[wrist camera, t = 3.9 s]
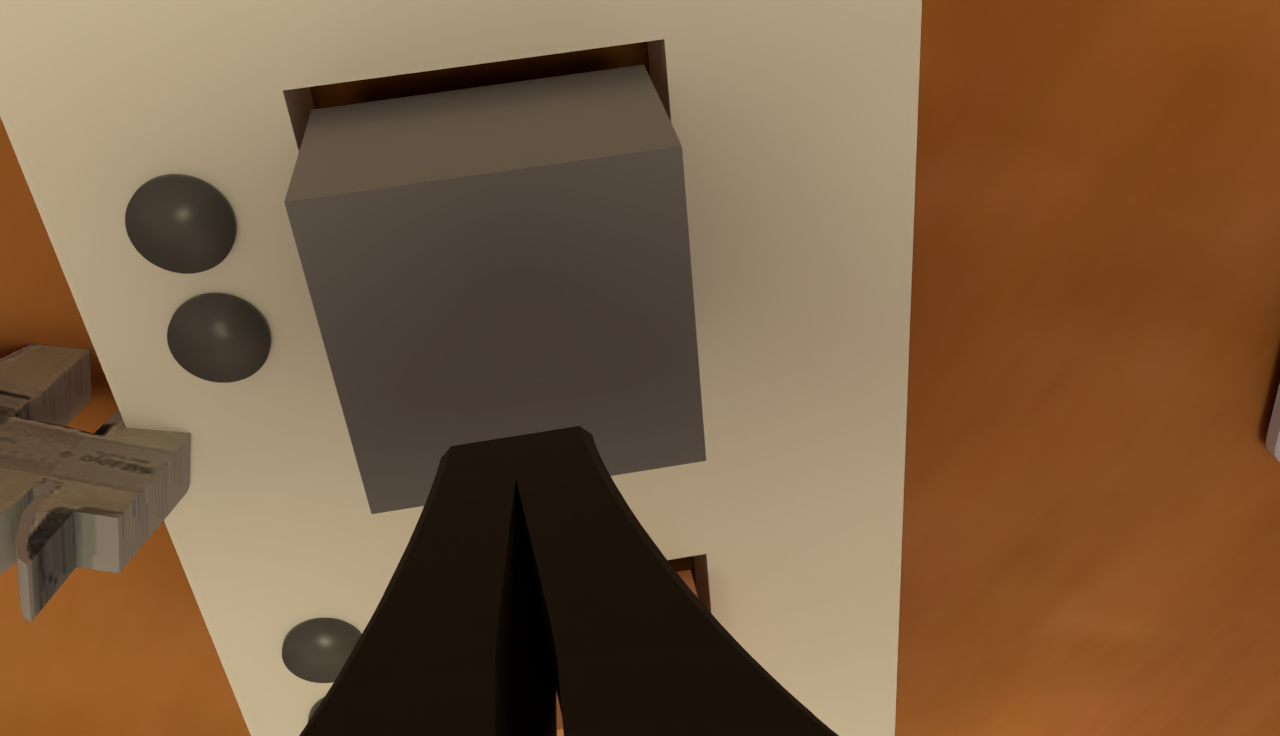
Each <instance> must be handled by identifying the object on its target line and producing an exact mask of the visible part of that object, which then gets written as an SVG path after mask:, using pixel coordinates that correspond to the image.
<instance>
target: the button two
mask: <svg viewBox="0 0 1280 736" xmlns="http://www.w3.org/2000/svg"><path fill="white" fill-rule="evenodd" d="M284 203H285V207H286V210H287V214H288V218H289V221H290V225H291V228H292V232H293V236H294V239H295V243H296V246H297V250H298V253H299V257H300V261H301V264H302V268H303V271H304V275H305V278H306V282H307V286H308V289H309V293H310V296H311V300H312V303H313V307H314V311H315V314H316V318H317V321H318V325H319V328H320V332H321V336H322V339H323V343H324V346H325V350H326V353H327V357H328V361H329V364H330V368H331V371H332V375H333V379H334V382H335V386H336V389H337V393H338V396H339V400H340V404H341V407H342V411H343V414H344V418H345V421H346V425H347V429H348V432H349V436H350V439H351V443H352V446H353V450H354V454H355V457H356V461H357V464H358V468H359V471H360V475H361V479H362V482H363V486H364V489H365V493H366V496H367V500H368V504H369V507H370V511H371V514H376V513H383V512H389V511H395V510H401V509H408V508H414V507H420V506H424V505H425V503H426V500H427V498H428V495H429V492H430V490H431V487H432V484H433V481H434V479H435V476H436V473H437V470H438V466H439V463H440V460H441V457H442V456H443V455H444V454H445V453H446V451H447V450H448V449H449V448H450V447H451V446H455V445H461V444H467V443H474V442H480V441H487V440H493V439H499V438H506V437H512V436H518V435H525V434H531V433H537V432H544V431H550V430H556V429H563V428H569V427H576V426H580V427H582V428H583V429H585V430H586V431H588V432H589V433H591V434H592V435H593V439H594V442H595V445H596V447H597V450H598V452H599V454H600V456H601V459H602V461H603V463H604V465H605V467H606V469H607V471H608V472H609V474H610V476H614V475H620V474H627V473H633V472H639V471H646V470H652V469H658V468H664V467H671V466H677V465H683V464H689V463H696V462H702V461H706V450H705V437H704V424H703V411H702V398H701V385H700V372H699V359H698V347H697V334H696V321H695V308H694V295H693V282H692V269H691V256H690V243H689V230H688V218H687V205H686V192H685V179H684V166H683V153H682V145H681V143H680V141H679V139H678V136H677V134H676V132H675V130H674V128H673V126H672V124H671V121H670V119H669V117H668V115H667V113H666V111H665V109H664V106H663V104H662V102H661V100H660V98H659V96H658V93H657V91H656V89H655V87H654V85H653V83H652V81H651V78H650V76H649V74H648V72H647V70H646V68H645V65H637V66H629V67H622V68H615V69H607V70H600V71H593V72H585V73H578V74H571V75H563V76H556V77H548V78H541V79H534V80H526V81H519V82H512V83H504V84H497V85H490V86H482V87H475V88H467V89H460V90H453V91H445V92H438V93H431V94H423V95H416V96H409V97H401V98H394V99H386V100H379V101H372V102H364V103H357V104H350V105H342V106H335V107H328V108H320V109H313V110H311V114H310V117H309V120H308V124H307V127H306V130H305V134H304V137H303V140H302V144H301V147H300V151H299V154H298V157H297V161H296V164H295V167H294V171H293V174H292V177H291V181H290V184H289V187H288V191H287V194H286V198H285V201H284Z"/></svg>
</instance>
